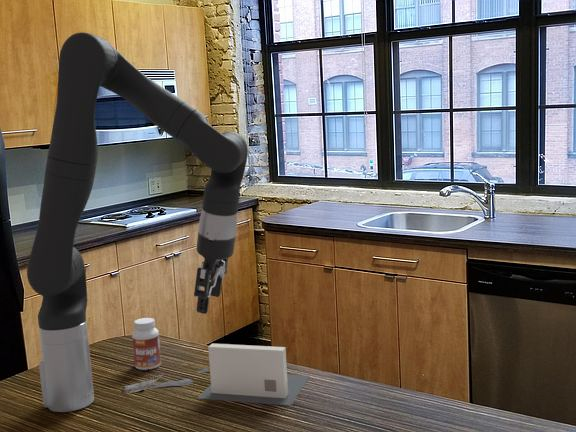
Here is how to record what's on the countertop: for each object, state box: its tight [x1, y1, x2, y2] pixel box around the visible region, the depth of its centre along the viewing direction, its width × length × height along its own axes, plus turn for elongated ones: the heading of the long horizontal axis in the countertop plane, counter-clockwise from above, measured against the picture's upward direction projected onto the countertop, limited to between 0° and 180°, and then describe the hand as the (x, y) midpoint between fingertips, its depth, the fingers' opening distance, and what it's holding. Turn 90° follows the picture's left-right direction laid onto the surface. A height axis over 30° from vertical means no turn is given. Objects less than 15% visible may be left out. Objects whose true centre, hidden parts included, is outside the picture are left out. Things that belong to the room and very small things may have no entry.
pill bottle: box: [131, 317, 162, 371], centre depth 158 cm, size 6×6×11 cm
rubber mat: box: [196, 373, 311, 406], centre depth 141 cm, size 20×15×1 cm
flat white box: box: [208, 343, 288, 398], centre depth 137 cm, size 16×2×10 cm, turn 73°
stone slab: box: [122, 367, 209, 394], centre depth 148 cm, size 18×2×10 cm
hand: (208, 303), depth 140 cm, fingers open, 8 cm apart
